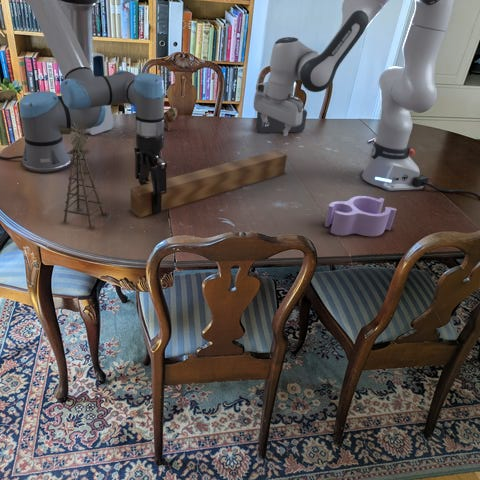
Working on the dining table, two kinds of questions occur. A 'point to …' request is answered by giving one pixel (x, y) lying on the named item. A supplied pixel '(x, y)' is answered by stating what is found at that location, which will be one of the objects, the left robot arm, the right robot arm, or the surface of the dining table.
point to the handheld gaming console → (278, 124)
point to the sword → (371, 140)
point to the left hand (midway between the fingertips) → (150, 207)
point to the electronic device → (108, 121)
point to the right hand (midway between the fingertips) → (274, 131)
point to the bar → (209, 182)
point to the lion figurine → (170, 117)
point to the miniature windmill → (78, 148)
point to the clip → (359, 216)
